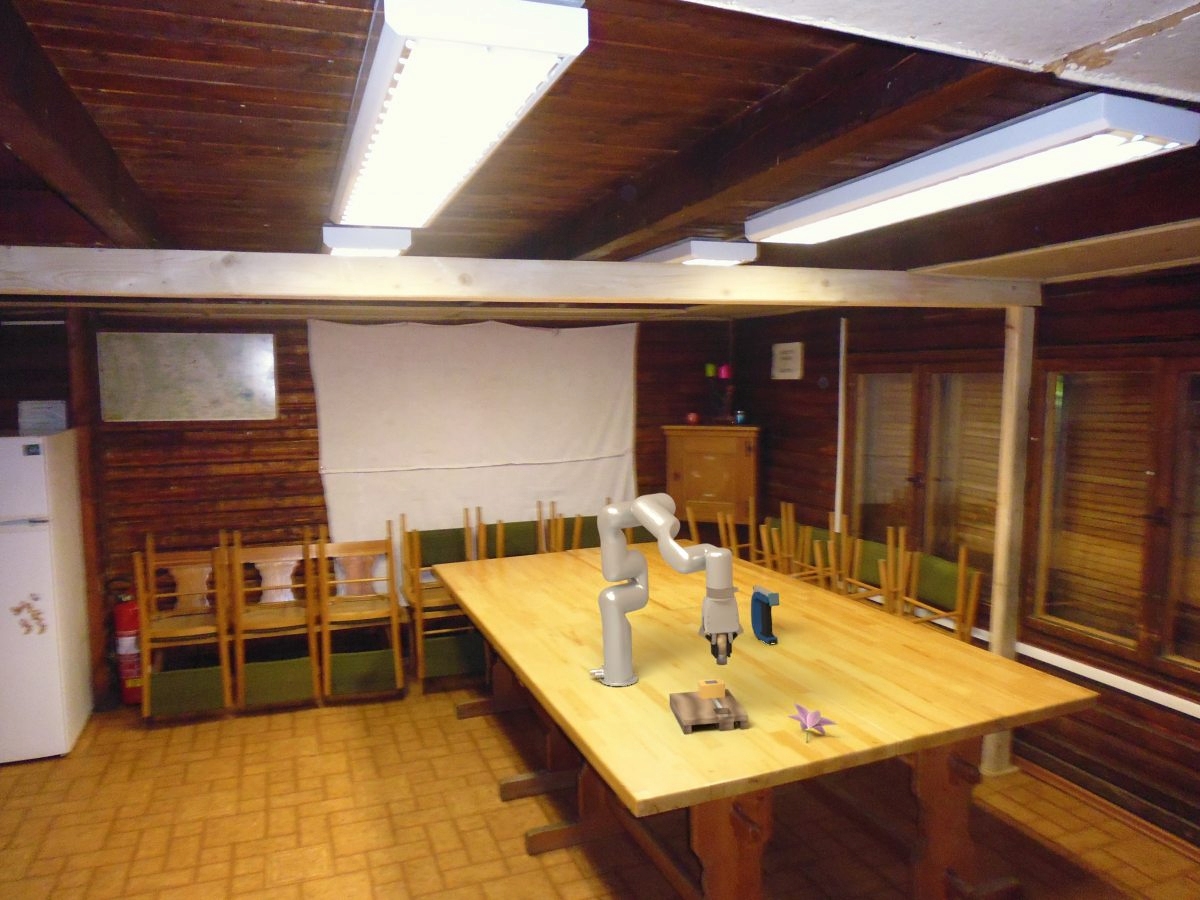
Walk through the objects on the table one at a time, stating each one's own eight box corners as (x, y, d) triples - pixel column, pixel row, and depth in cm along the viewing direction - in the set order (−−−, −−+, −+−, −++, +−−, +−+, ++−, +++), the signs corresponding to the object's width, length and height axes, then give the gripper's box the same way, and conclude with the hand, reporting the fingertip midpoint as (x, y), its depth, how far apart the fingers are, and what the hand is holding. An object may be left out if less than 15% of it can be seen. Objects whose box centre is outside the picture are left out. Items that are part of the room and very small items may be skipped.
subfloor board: (684, 734, 225) (684, 720, 224) (669, 706, 244) (669, 693, 244) (747, 728, 227) (747, 714, 226) (728, 701, 247) (727, 688, 246)
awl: (718, 665, 228) (717, 634, 228) (715, 662, 231) (714, 631, 231) (728, 664, 229) (727, 633, 228) (725, 661, 232) (724, 630, 231)
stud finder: (701, 699, 239) (701, 685, 239) (698, 693, 243) (697, 680, 243) (725, 697, 240) (724, 683, 240) (721, 691, 244) (720, 678, 244)
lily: (841, 748, 215) (842, 710, 219) (810, 740, 210) (811, 702, 214) (808, 747, 225) (809, 711, 229) (777, 740, 220) (778, 703, 223)
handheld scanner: (769, 647, 296) (769, 594, 295) (750, 634, 311) (750, 584, 310) (781, 646, 297) (781, 593, 296) (761, 633, 313) (760, 583, 311)
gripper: (743, 587, 233) (745, 650, 235) (688, 591, 231) (690, 654, 233) (752, 593, 226) (753, 658, 227) (694, 597, 224) (696, 663, 225)
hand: (721, 655), depth 230 cm, fingers closed on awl, 3 cm apart
